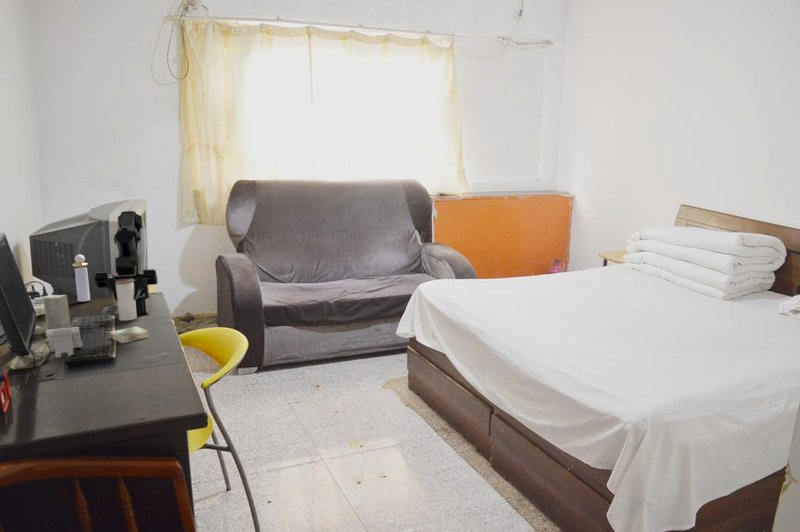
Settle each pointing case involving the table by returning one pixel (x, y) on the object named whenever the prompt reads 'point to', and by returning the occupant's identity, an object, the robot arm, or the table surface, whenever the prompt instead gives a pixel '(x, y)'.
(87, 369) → the table surface
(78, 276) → the perfume bottle
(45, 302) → the skincare box
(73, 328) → the portable electronic device stand
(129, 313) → the tumbler
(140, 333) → the square tray
